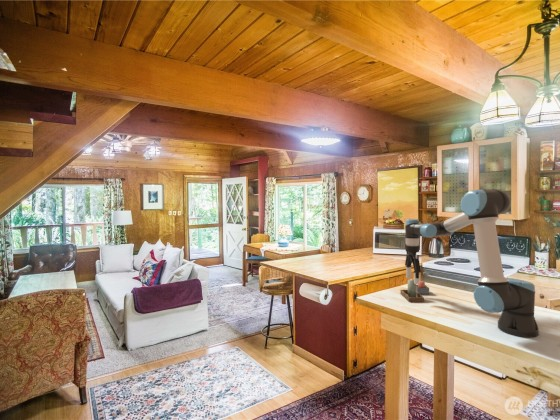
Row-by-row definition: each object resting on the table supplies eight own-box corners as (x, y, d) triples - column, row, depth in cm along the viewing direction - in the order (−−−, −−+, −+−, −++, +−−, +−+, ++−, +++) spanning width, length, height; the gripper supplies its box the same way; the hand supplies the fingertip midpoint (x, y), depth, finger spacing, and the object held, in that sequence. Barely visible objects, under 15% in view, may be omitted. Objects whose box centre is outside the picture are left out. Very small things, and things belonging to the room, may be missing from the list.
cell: (417, 298, 194) (417, 280, 194) (409, 298, 195) (409, 280, 194) (414, 295, 199) (414, 278, 198) (406, 295, 199) (406, 278, 199)
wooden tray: (424, 302, 189) (424, 297, 188) (408, 302, 189) (408, 297, 189) (414, 293, 204) (414, 289, 204) (400, 293, 205) (400, 289, 205)
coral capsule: (425, 292, 204) (425, 282, 204) (419, 292, 204) (419, 282, 204) (423, 290, 208) (423, 281, 208) (416, 290, 208) (416, 280, 208)
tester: (429, 294, 202) (429, 288, 202) (417, 294, 203) (417, 287, 203) (424, 291, 209) (424, 284, 209) (413, 290, 210) (413, 284, 210)
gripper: (427, 248, 182) (427, 286, 183) (411, 242, 207) (411, 275, 208) (413, 248, 183) (413, 286, 183) (399, 242, 208) (399, 276, 208)
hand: (412, 280), depth 196 cm, fingers open, 13 cm apart
